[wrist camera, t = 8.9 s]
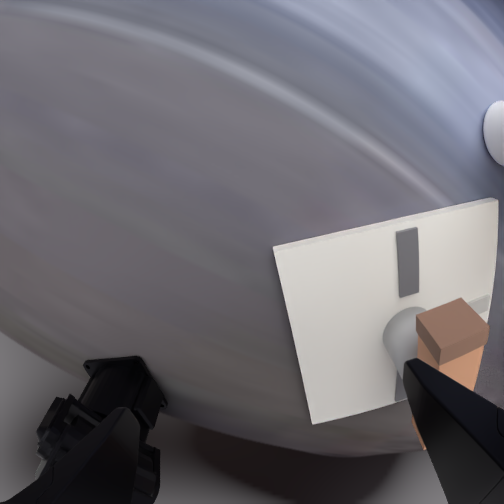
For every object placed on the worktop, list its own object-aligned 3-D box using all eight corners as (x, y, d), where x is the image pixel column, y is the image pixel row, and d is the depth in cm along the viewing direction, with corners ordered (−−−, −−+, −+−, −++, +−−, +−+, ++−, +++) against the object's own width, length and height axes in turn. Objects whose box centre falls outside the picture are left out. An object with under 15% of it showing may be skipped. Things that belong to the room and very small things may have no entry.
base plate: (310, 416, 27) (317, 457, 22) (272, 246, 21) (277, 280, 16) (471, 365, 25) (492, 395, 20) (490, 197, 19) (531, 214, 14)
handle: (441, 398, 19) (460, 434, 16) (406, 413, 20) (422, 451, 16) (453, 290, 16) (489, 326, 12) (409, 306, 16) (440, 348, 12)
